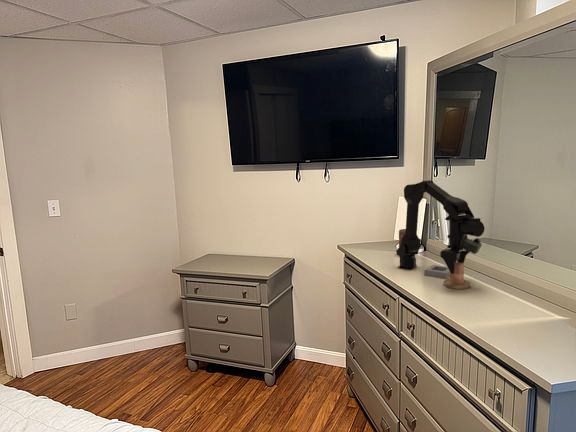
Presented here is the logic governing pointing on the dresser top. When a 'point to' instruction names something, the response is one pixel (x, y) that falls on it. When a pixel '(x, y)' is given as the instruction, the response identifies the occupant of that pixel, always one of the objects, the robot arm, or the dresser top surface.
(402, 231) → the can
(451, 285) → the pad
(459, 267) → the block
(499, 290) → the dresser top surface
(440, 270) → the collar
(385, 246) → the dresser top surface
